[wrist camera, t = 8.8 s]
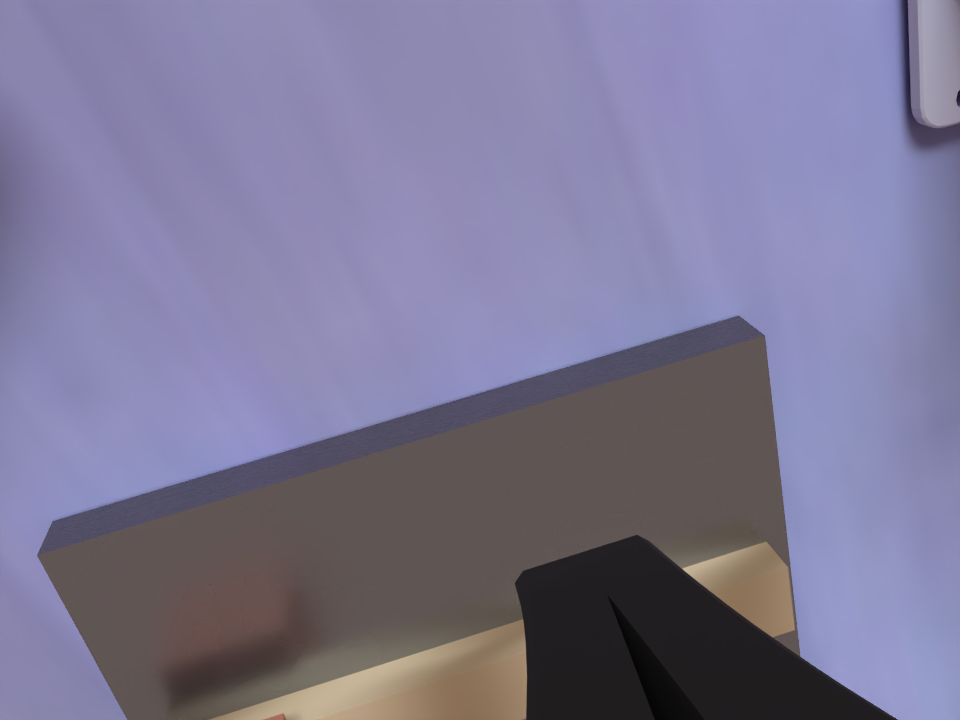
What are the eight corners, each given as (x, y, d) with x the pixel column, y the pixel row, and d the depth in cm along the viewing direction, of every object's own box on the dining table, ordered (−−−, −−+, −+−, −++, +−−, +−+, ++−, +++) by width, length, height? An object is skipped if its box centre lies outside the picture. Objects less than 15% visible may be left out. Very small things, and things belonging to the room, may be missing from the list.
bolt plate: (738, 316, 19) (767, 336, 18) (793, 763, 25) (817, 802, 24) (52, 521, 18) (35, 557, 17) (274, 940, 24) (273, 989, 23)
